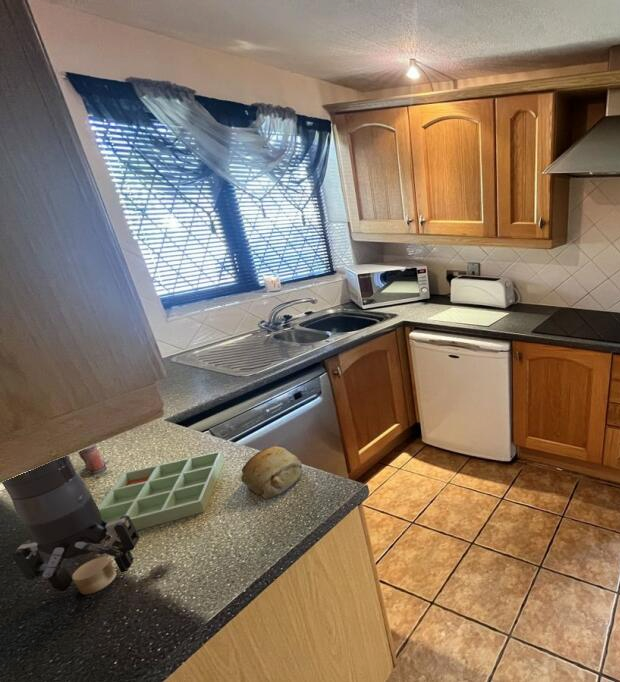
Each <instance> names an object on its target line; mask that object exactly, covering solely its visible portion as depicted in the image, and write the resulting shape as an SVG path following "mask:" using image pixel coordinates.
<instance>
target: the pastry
mask: <svg viewBox="0 0 620 682" xmlns="http://www.w3.org/2000/svg"><path fill="white" fill-rule="evenodd" d="M302 469H303V463H302V461H301V460H300V459H299V458H298V457H297V456H296V455H295V454H293V453H291V452H290V451H289V450H287V449H286V448H284V447H283V446H276V445H271V446H269V447H267V448H263V450H260V451H258V452H256V453H255V454H253V455H252V456H251V457H250V458H249V459H248V460H247V462H246V463H245V465H243V466H242V469H241V473H242V475H241V477H240V478H241V479H240V482H242V483H243V484H244V485H246V486H247V487H248V488H249V489H250V490H251V491H252V493H254V494H256V495H259V496H262V497H263V499H264V500H270V499H272V498H274V497H277V496H279V495H281V494H282V493H283V492H285V491H287V490H288V489H289V488H291V487H292V486H293V485H294V484H295V483H297V482H298V480H299V479H300V478H301V471H302Z"/></svg>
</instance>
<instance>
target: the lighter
mask: <svg viewBox="0 0 620 682" xmlns="http://www.w3.org/2000/svg"><path fill="white" fill-rule="evenodd" d="M77 454H78V455H79V457H80V459H81V460H82V461H83V463H84V467H85V469H86V471H87V473H88V474H90V475H93V476H96V475H99V474H102V473H104V472H105V471H107V469H108V466H107V464H106V461H105V460H104V459H103V458H102V456H101V453H100V452H99V450H98V448H97V444H96V445H94V446H92V447H90V448H87V449H84V450H82V451H80V452H78V451H77Z"/></svg>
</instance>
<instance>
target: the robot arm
mask: <svg viewBox="0 0 620 682" xmlns="http://www.w3.org/2000/svg"><path fill="white" fill-rule="evenodd" d="M1 484H2V485H3V487H4V488H5V490H6V492H7V494H8V495H9V497H10V499H11V502H12V505H13V507H14V510H15V512H16V514H17V515H18V518H19V519H20V520H21V522H22V523H23V525H24V527H25V528H26V530H27V531H28V533H29V535H30V536H31V538H32V540H33V541H32V540H26V541H24V542H22V544H20V546H19V547H18V548H17V549H16V550H15V551H14V552H13V554H12V559H13V560H14V561H15V563H16V564H17V566H18V568H19V570H20V572H21V573H22V575H23V576H24V578H25V579H26V580H29V581H31V580H35V579H36V578H38V577H42V578H44V579H47V580H48V582H49V583H50V585H51V586H52V588H53V589H54V590H58V592H64V591H67V590H68V589H69V587H70V586H71V584H72V583H73V579H72V576H71V574H70V573H69V571H68V570H67V568H66V566H65V565H64V564H63V565H61V564H62V563H63V561H64V559H67V560H70V559H74V558H76V557H78V556H81V555H87V554H91V553H95V554H98V555H102V556H103V555H109V556H111V557H114V558H113V560H114V562H115V564H116V565H117V568H118V569H119V571H120V573H125V572H128V571H129V569H130V568H131V566H132V564H133V563H134V561H135V559H134V556H133V554H132V552H131V551H133V550H134V549H135V548H136V545H137V543H138V542H139V540H140V539H141V537H140V535H139V533H138V530H136V529H135V527H134V525H133V523H132V521H131V519H130V517H129V516H127V515H124V516H122V517H121V518H120V519H119V520H117V521H114V522H110V523H107V522H105V521H104V520H102V518H101V514H100V511H99V509H98V505H97V503H96V501H95V500H94V497H93V495H92V493H91V491H90V490H89V488H88V485H87V484H86V482H85V480H84V479H83V477H82V476H81V475H80V474H79V473H78V471H77V470H76V467H75V465H74V464H73V461H72V460H71V458H70V456H69V455H68V456H65V457H63V458H60V459H58V460H55V461H52V462H50V463H48V464H45V465H43V466H40V467H38V468H36V469H34V470H31V471H28V472H26V473H23V474H21V475H18V476H16V477H14V478H11V479H9V480H6V481H4V482H1ZM107 531H112V532H113V534H112V533H110V532H107ZM116 534H117V536H116ZM103 541H104V544H101V543H102V542H103ZM39 552H42V553H45V554H47V555H51V556H50V557H49V559H48V562H47V563H45V561H44V559H43V558H42V556H41V554H40V553H39Z"/></svg>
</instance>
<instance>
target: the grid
mask: <svg viewBox="0 0 620 682" xmlns="http://www.w3.org/2000/svg"><path fill="white" fill-rule="evenodd" d="M225 461H226V458H225V456H224V452H223V450H218V451H214V452H209V453H205V454H200V455H197V456H192V457H187V458H183V459H177V460H174V461H170V462H166V463H160V464H156V465H152V466H147V467H144V468H139V469H133V470H130V471H125V472H123V473H122V474H121V476H120V477H119V478H118V479H117V481H116V482H115V484H114V485H113V486H112V487H111V488H110V490H109V491H108V493H107V494H106V496H105V497H104V498H103V499H102V501H101V502H100V503H99V505H97V507H98V509H99V511H100V514H101V518H102V520H104V521H105V522H107V523H110V522H114V521H117V520H119V519H120V518H121V517H122V516H124V515H127V516H129V517H130V519H131V521H132V523H133V525H134V527H135V529H136V531H139V530H142V529H146V528H151V527H154V526H157V525H158V526H159V525H161V524H165V523H168V522H174V521H176V520H179V519H184V518H187V517H191V516H195V515H199V514H201V513H205V512H206V509H207V506H208V504H209V502H210V499H211V496H212V494H213V491H214V489H215V486H216V485H217V481H218V479H219V476H220V474H221V471H222V468H223V466H224V463H225ZM107 532H110V533H112V534H113V532H112V531H107ZM116 536H117V537H118V535H117V534H116Z"/></svg>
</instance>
